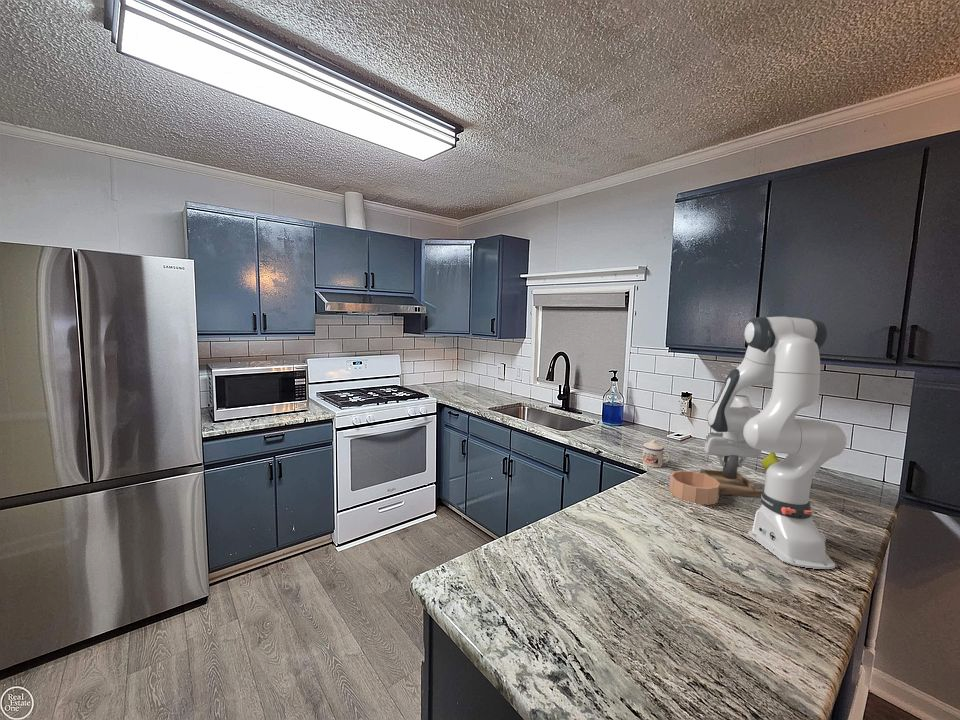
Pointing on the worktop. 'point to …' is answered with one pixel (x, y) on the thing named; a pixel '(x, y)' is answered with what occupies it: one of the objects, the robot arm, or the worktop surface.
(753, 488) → the walnut tray
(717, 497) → the terracotta bowl
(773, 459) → the fruit
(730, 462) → the black canister
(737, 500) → the worktop surface
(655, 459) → the teacup with lid
